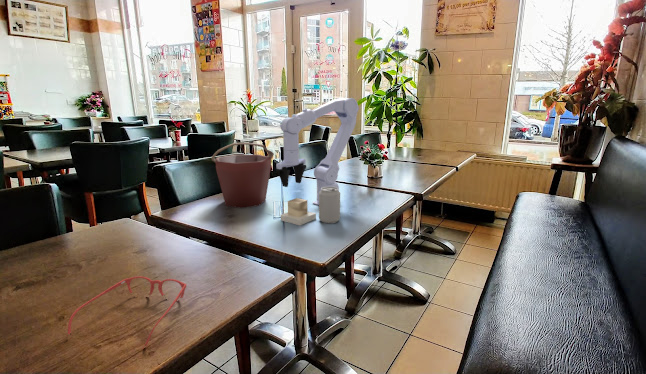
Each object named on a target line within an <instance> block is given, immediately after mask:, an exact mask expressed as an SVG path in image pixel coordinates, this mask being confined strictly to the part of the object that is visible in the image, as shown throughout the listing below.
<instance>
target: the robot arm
mask: <svg viewBox="0 0 646 374" xmlns="http://www.w3.org/2000/svg"><path fill="white" fill-rule="evenodd" d="M359 110H360V106H359V105H358V102H357V99H355V98H353V97H349V98H347V97H344V98H343V97H337V98H335V99H331V100H330V101H328V102H326V103H324V104H322V105H320V106H319V107H317V108H315V109H310V108H303V109H302V110H301V112H298V113H294V114H292V115H291V117H285V118H283V120H281V124H280V125H279V127H280V130H281V131H282V135H283V160H282V161H280V162H278V163H277V162H276V168H275V171H276V172H277V174H278V177H279V178H280V182H281V185H282V187H285V188H288V187H289V177H290V173H291V169H288V168H291V167H292V169H293V170H294V171H293V172H294V178H295V181H294V182H295V183H297V184H301V183H302V181H303V180H302V179H303V175H304V173H305V171H306V169H307V165H306V158H300V155H299V153H300V149H299V148H300V146H299V143H300V142H299V134H300V132H301V130H302V129H304V128H307V127H308V126H310V125H313V124H315V123H316V121H317V119H318V118H320V117H323V116H324V115H328V114H331V113H333V112H334V113H335V115H336V116H337V117H338V119H339V121H340V122H341V123H340V126H339V128H338V130H337V133H336V134H335V137H334V139H333V140H332V142H331V145H330V147H329V149H328V152H327V154H326V156H325V158H323V159H321V160H320V162H319V164H318V165H317V166H316V167H315V168H314V169H313V170H314V171H313V176H314V178H315V179H316V201H312V204H313V205H318V206H319V192H320V191H321V188H323V187H336V188H338V189H339V190H338V191H339V192H340V186H339V184H338V182H337V180H338V176H339V171H340V165H339V161H340V159H341V157H342V156H343V153H344V151H345V148H346V146H347V145H348V142H349V140H350V137H351V136H352V134H353V131H354V129H355V127H356V124H357V117H358V116H357V114H358V113H359Z"/></svg>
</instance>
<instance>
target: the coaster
mask: <svg viewBox="0 0 646 374" xmlns="http://www.w3.org/2000/svg"><path fill="white" fill-rule="evenodd" d="M316 219H317V213H316V212H313V211H312V212H311V211H308V214H305V215H303V216H300V217H296V216H292V215H288V211H287V212H285V213H282V214H280V221H282V222H286V223H289V224H293V225H297V226H302V225H304V224H306V223H310V222H311V221H313V220H316Z"/></svg>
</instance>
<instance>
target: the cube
mask: <svg viewBox="0 0 646 374" xmlns="http://www.w3.org/2000/svg"><path fill="white" fill-rule="evenodd" d="M308 205H309V204H308V199H303V198H298V197H296V198H293V199H290V200H287V212H288V215H292V216H296V217H300V216H303V215H305V214H308V212H309V211H308V207H309V206H308Z"/></svg>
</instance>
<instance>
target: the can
mask: <svg viewBox="0 0 646 374" xmlns="http://www.w3.org/2000/svg"><path fill="white" fill-rule="evenodd" d="M338 190H339V191H338ZM340 219H341V192H340V188H339V189H338V188H336V187H323V188H321V191H320V192H319V205H318V220H320V221H321V223H323V224H335V223H338V221H339V220H340Z"/></svg>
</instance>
